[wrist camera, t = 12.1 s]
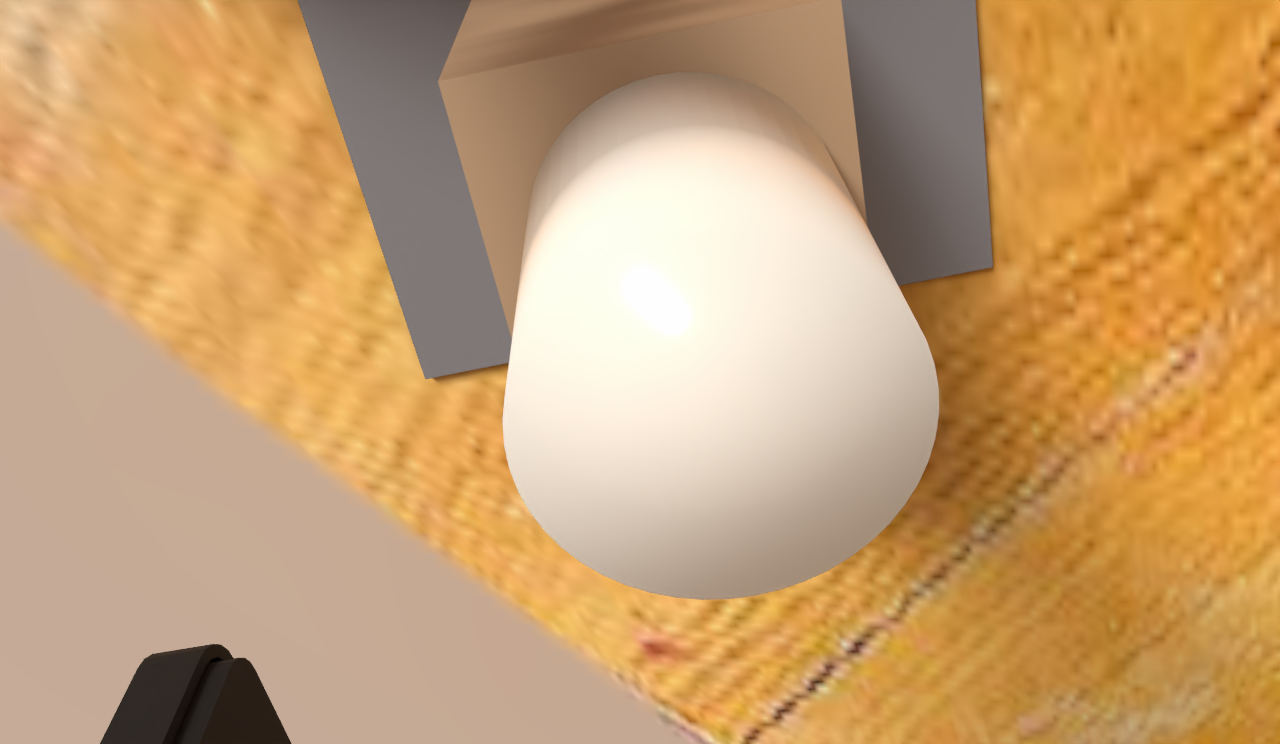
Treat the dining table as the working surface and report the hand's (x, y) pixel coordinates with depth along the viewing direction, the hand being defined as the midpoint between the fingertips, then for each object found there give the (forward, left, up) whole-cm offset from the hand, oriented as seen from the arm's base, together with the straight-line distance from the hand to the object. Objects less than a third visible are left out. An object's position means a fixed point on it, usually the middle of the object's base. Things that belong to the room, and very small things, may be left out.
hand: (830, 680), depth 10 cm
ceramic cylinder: (+1, 0, -10) cm, 10 cm away
